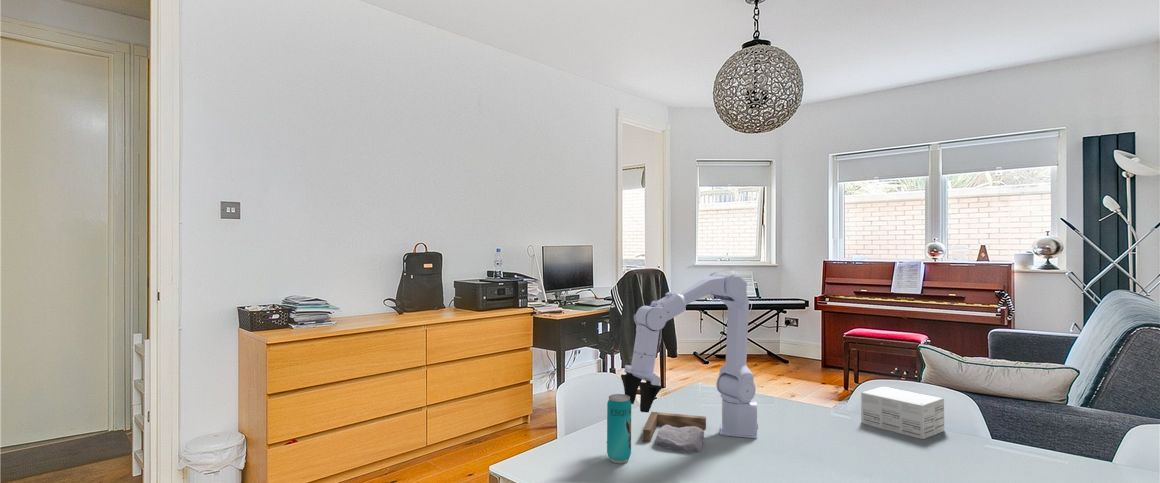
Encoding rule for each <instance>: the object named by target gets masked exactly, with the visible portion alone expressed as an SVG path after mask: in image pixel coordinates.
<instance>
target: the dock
mask: <svg viewBox="0 0 1160 483" xmlns="http://www.w3.org/2000/svg"><path fill="white" fill-rule="evenodd" d="M664 425H670V426H672V427H676V428H681V427H685V426H689V427H690V426H695V427H699V428H700V429H702V430H706V429H707V416H705V415H704V416H702V415H694V414H693V415H690V414H682V413H669V412H660V411H659V412H657V411H650V414H649V416H648V418H647V420H646V422H645V424H644V426H643V429H642V441H643V442H647V443H648V442H651V441H652V438H653V436H654V434H655V432H656V430H657V427H658V426H664Z"/></svg>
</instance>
